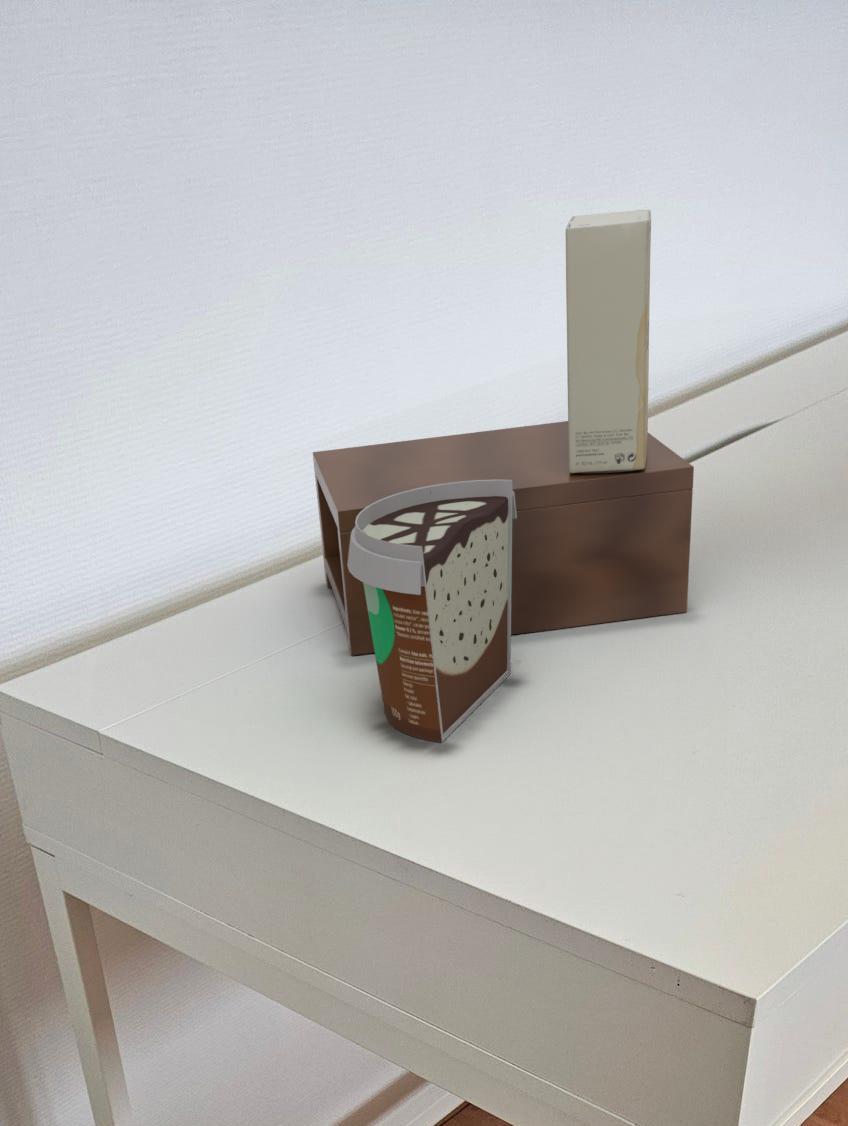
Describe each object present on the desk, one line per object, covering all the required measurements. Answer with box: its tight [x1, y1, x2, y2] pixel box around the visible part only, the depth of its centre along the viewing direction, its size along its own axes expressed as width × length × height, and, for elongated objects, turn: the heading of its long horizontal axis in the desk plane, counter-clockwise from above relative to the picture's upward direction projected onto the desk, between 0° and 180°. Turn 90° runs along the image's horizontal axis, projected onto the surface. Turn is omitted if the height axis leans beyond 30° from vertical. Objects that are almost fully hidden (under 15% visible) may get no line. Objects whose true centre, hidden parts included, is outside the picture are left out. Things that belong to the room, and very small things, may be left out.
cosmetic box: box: [565, 209, 652, 473], centre depth 77 cm, size 6×4×12 cm
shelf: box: [312, 420, 695, 656], centre depth 85 cm, size 20×14×8 cm
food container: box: [347, 480, 517, 743], centre depth 72 cm, size 12×6×10 cm, turn 154°
